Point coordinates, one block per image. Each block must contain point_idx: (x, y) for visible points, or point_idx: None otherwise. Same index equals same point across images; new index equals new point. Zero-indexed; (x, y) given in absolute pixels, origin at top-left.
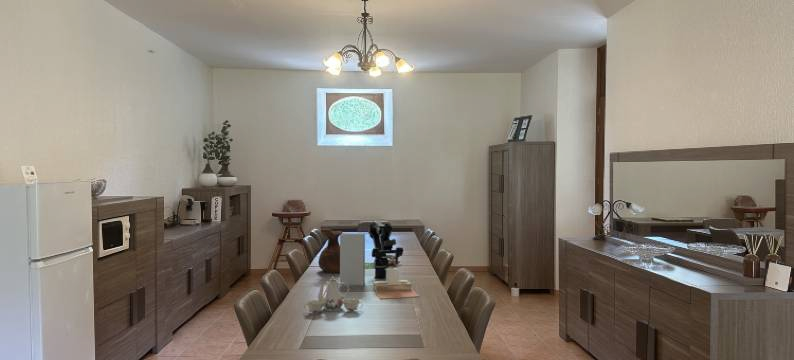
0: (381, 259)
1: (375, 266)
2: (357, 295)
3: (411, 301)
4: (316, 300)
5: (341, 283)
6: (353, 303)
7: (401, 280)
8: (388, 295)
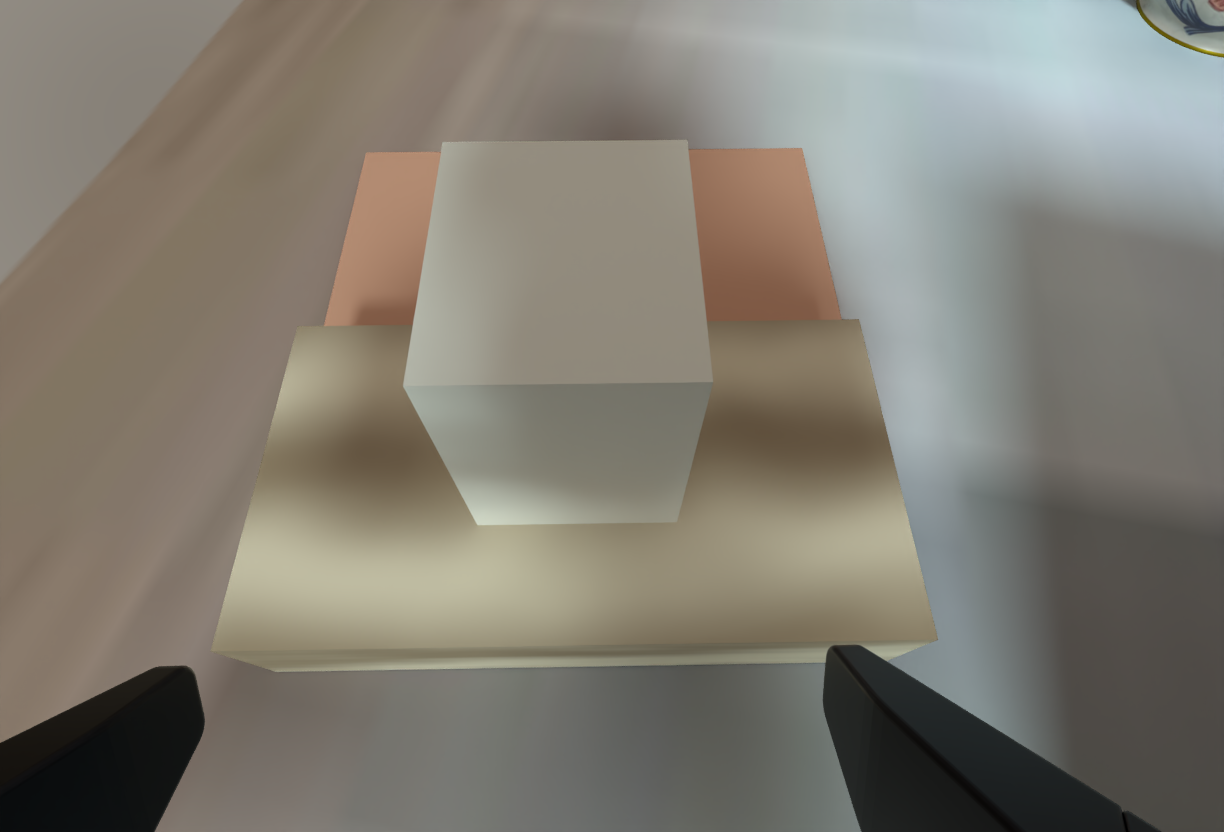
0: (1000, 773)
1: None
2: (1078, 316)
3: (512, 62)
4: None
5: None
6: None
7: (341, 599)
8: (697, 221)
